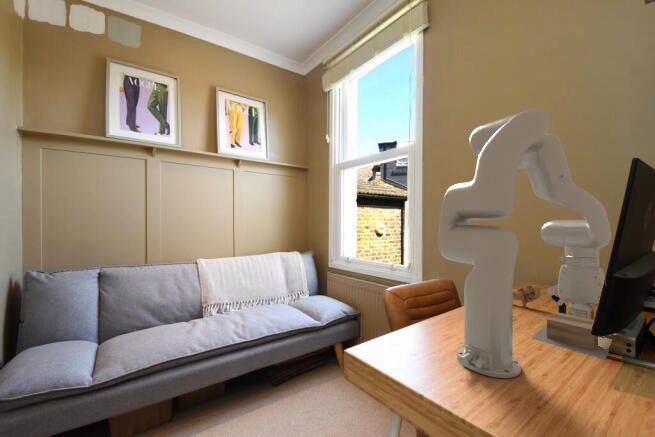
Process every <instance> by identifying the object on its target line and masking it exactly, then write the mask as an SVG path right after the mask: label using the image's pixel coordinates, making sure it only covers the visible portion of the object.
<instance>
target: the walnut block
mask: <svg viewBox="0 0 655 437" xmlns="http://www.w3.org/2000/svg"><path fill="white" fill-rule="evenodd" d="M594 320H595V319H594ZM594 320H592V319H587V318H583V317H578V316H573V315H569V313H568V314H567V313H566V314H564V313H559V311H554V312H553V313H552V314H551V315H550V316H549V317H547V318H546V324H547V338H550V339H554V340H557V341H561V342H565V343H568V344H572V345H576V346H579V347H583V348H586V349H590V350H593V349H594V347H595V345H596V343H597V342H598V337H596V336H594V335H592V334H591V328H592V324H593V322H594Z"/></svg>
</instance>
